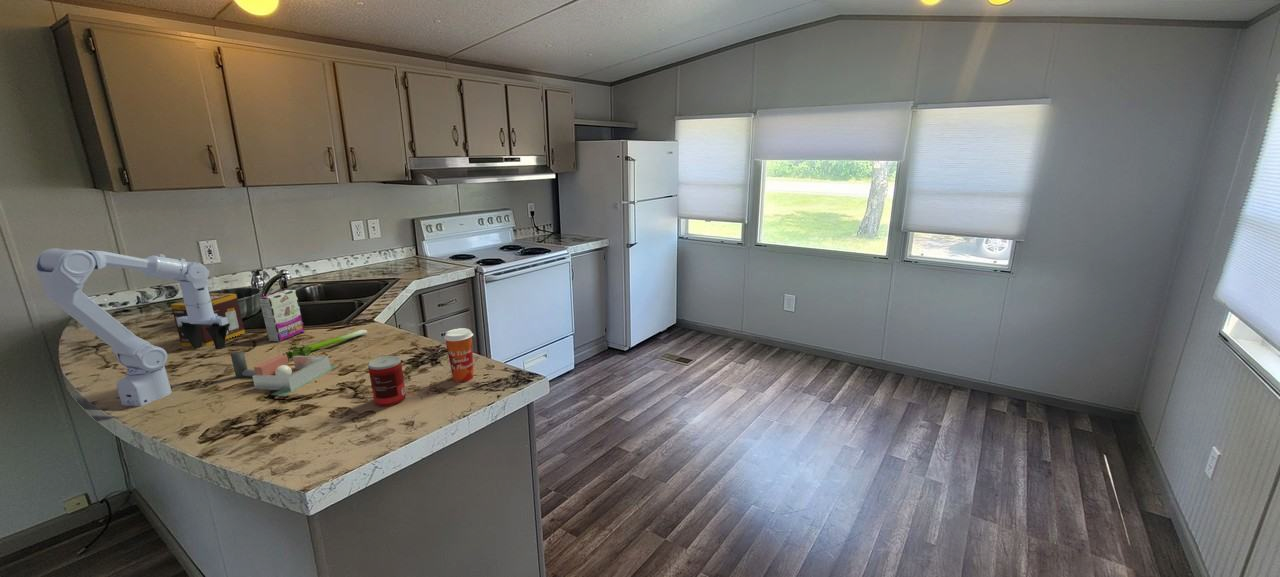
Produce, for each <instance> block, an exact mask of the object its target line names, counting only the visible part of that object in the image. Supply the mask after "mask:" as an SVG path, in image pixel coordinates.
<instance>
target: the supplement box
mask: <svg viewBox="0 0 1280 577" xmlns="http://www.w3.org/2000/svg"><path fill="white" fill-rule="evenodd" d="M209 295H210V299H211V303H212V307H213V311H214V314H217V316H221V317H227V320H228V323H230V326H229V328H228V330H227V333H226V338H225V340H226V339H228V340H230V339H229V338H231V339H233V338H232V337H234V338H236V337H239V336H241V335H240V334H242V335H244V334H246V330H245V328H244V322H243V318H241V313H240V309H239V304H238V300H237V295H236V294H222V293H211V294H209ZM181 301H182V300H181ZM181 301H179V302H178V301H177V302H175V303H171V304H170V307H171V310H172V314H173V315H172V316H173V318H174V322H175V326H176V329H177V333H178V337H179V341H180V345H181V347H186V348H187V347H189V348H193V347H192V345H191V343H190V342H189V340H188V339H187V338H186V337H185V335H184V334H183V333H181V332H180V331H179V330H178V327H181V326H182V325H179V324H178V321H177V318H180V317H183V316H188V315H187V311H186V307H185V303H184V301H182V302H181ZM210 326H212V325H210V324H202V325H201V338H202V346H201V347H200V348H204V347H206V346H207V347H209V346H210V347H211V345H212V346H214V345H213V344H214V342H213V339H212V337H211V335H210V334H209V332H208V331H207V330H206V328H207V327H210ZM238 335H239V336H238ZM235 336H236V337H235ZM226 341H227V340H226Z"/></svg>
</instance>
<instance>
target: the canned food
mask: <svg viewBox="0 0 1280 577" xmlns="http://www.w3.org/2000/svg"><path fill="white" fill-rule="evenodd" d="M367 366H368V374H369V379H370V385H371V390H372V391H371V392H372V396H373V402H374V403H375V405H376V406H379V407H390V406H391V405H392V406H394V405H398V404H400V403H402V402H403V401H404V400H405V399H406V395H407V393H406V386H405V379H404V378H405V377H404V373H403V365H402V360H401V357H400V356H398V355H397V356H396V355H385V356H380V357H376V358H374V359H372V360H370V361H369V362H368V363H367ZM397 403H398V404H397Z"/></svg>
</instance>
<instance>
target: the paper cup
mask: <svg viewBox="0 0 1280 577" xmlns="http://www.w3.org/2000/svg"><path fill="white" fill-rule="evenodd" d="M473 336H474V333H473V332H472V331H471V329H469V328H466V327H465V328H464V327H463V328H462V327H460V328H454V329H450V330H448V331H446V332H445V335H444V337H443V339H444V341H445V344H446V349H447V357H448V359H449V366H450V371H451V375H452V379H453V381H454V382H456V381H457V383H464V382H463V381H465V382H468V381H471V380H472V379H473V378H474V355H473V354H474V353H473V338H472V337H473ZM470 379H471V380H470Z"/></svg>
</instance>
